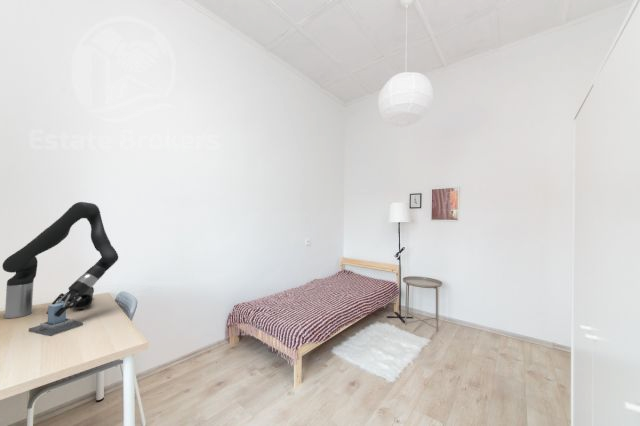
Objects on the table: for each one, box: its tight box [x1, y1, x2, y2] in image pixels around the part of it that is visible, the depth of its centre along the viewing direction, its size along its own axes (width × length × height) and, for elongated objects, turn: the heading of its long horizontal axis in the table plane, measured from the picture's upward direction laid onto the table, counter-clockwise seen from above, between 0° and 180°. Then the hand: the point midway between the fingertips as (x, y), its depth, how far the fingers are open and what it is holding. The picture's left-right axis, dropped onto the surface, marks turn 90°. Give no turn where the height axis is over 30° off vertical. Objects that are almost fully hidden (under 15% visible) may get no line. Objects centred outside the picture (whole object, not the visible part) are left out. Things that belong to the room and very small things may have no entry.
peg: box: [46, 303, 67, 325], centre depth 117 cm, size 4×4×10 cm
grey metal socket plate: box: [28, 317, 84, 337], centre depth 117 cm, size 16×12×3 cm
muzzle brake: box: [71, 286, 95, 311], centre depth 149 cm, size 10×28×10 cm, turn 43°
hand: (52, 315), depth 115 cm, fingers open, 5 cm apart
